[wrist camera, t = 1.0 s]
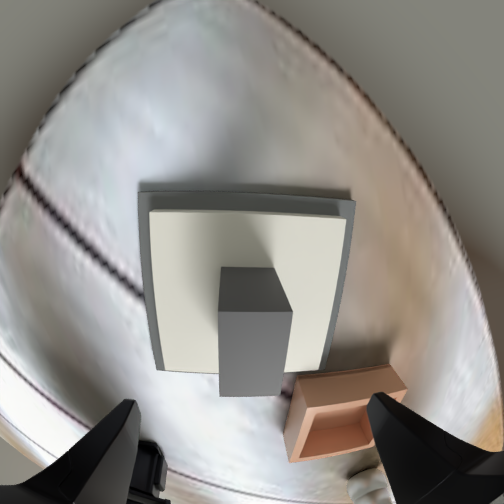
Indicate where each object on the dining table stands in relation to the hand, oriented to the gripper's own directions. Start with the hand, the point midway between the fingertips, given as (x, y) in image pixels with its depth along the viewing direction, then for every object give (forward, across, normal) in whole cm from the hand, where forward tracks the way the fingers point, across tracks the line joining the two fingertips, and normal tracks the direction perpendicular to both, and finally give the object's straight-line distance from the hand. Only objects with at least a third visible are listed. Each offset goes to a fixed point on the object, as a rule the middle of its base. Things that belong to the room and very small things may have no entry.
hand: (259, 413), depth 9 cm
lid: (+9, 0, 0) cm, 9 cm away
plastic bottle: (+10, -20, +34) cm, 41 cm away
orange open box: (+10, -9, +12) cm, 18 cm away
